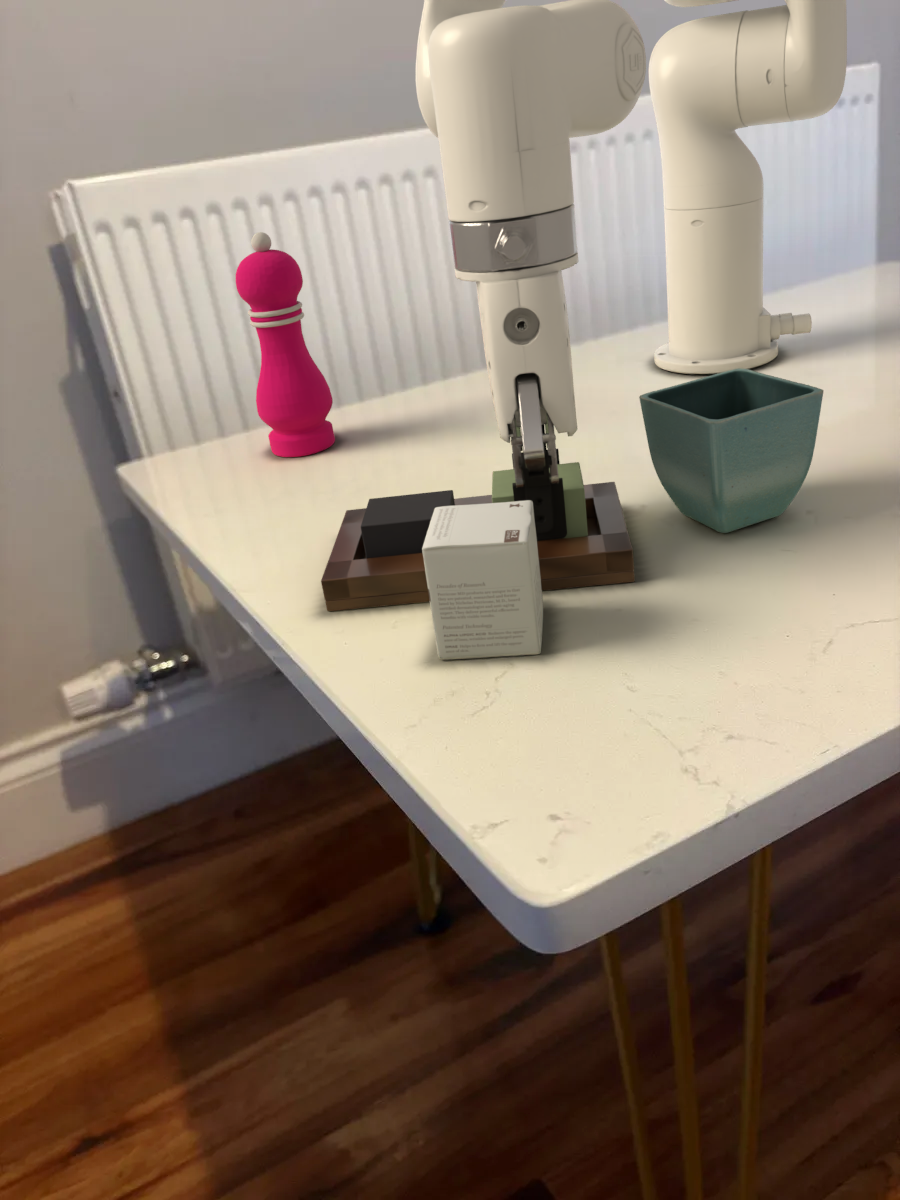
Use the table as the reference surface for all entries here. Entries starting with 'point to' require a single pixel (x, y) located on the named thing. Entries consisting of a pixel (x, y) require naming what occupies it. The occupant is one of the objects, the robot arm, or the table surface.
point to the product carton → (484, 580)
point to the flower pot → (732, 444)
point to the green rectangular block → (572, 495)
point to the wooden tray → (404, 575)
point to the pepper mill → (284, 354)
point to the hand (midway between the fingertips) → (541, 518)
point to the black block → (400, 522)
